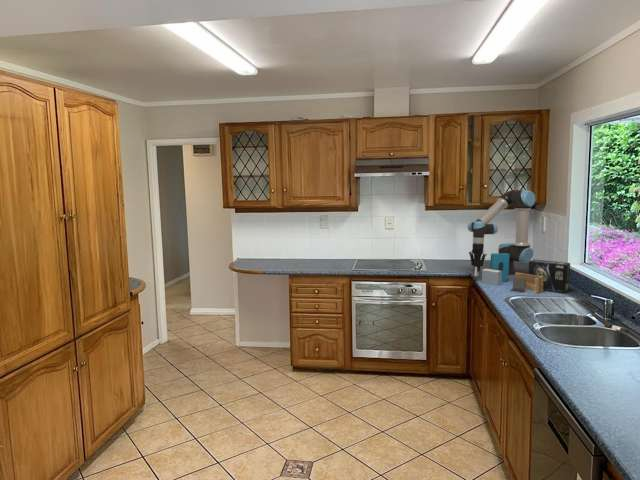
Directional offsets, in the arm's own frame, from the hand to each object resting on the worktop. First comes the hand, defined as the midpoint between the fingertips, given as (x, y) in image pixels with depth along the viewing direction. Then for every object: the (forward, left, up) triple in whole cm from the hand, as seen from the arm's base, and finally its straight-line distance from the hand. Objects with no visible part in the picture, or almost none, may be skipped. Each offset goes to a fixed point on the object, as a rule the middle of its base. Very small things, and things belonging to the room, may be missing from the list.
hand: (476, 275), depth 330 cm
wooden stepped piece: (0, +36, -4) cm, 36 cm away
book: (0, +12, -4) cm, 12 cm away
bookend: (+6, +34, -4) cm, 34 cm away
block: (-12, +11, -4) cm, 17 cm away
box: (-13, +45, -5) cm, 47 cm away
